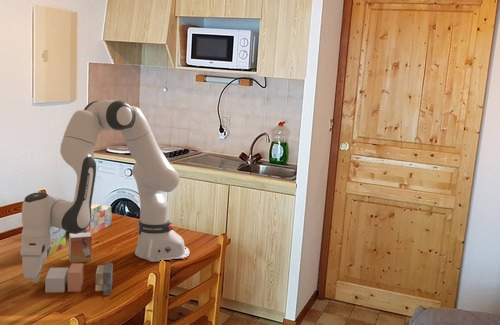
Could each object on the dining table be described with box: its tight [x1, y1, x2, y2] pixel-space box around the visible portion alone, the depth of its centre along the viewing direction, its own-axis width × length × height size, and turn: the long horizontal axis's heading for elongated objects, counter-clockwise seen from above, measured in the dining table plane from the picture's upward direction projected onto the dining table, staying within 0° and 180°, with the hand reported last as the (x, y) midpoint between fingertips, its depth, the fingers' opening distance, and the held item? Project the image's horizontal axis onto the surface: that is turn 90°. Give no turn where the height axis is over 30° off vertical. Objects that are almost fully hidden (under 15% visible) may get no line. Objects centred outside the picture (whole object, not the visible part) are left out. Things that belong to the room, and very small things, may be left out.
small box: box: [68, 232, 93, 264], centre depth 202 cm, size 8×6×10 cm
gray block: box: [44, 267, 70, 293], centre depth 176 cm, size 6×9×5 cm, turn 11°
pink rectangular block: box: [67, 263, 84, 293], centre depth 177 cm, size 4×8×7 cm, turn 11°
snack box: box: [47, 227, 67, 257], centre depth 206 cm, size 21×6×15 cm, turn 168°
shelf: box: [94, 262, 114, 296], centre depth 177 cm, size 26×10×8 cm, turn 101°
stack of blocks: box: [80, 203, 113, 236], centre depth 239 cm, size 21×6×12 cm, turn 164°
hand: (36, 280), depth 174 cm, fingers closed
